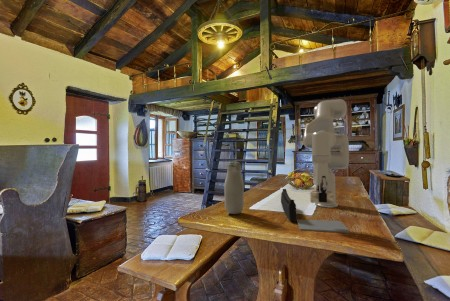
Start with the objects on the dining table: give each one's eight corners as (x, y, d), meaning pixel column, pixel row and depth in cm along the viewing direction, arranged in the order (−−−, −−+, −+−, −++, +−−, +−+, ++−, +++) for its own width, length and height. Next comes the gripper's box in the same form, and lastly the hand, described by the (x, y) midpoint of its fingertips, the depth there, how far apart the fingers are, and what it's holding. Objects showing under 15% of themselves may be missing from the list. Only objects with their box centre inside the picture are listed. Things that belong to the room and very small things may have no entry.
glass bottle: (222, 215, 123) (221, 161, 122) (229, 210, 132) (229, 160, 131) (239, 217, 119) (239, 162, 118) (246, 212, 128) (246, 160, 127)
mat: (296, 220, 113) (296, 219, 113) (340, 222, 109) (341, 221, 109) (299, 230, 100) (299, 228, 100) (350, 232, 96) (350, 231, 96)
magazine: (297, 205, 106) (287, 177, 135) (290, 205, 107) (281, 177, 135) (295, 237, 112) (286, 203, 140) (288, 237, 112) (280, 203, 140)
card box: (331, 201, 105) (331, 190, 105) (333, 203, 100) (333, 192, 100) (310, 200, 108) (310, 189, 108) (310, 202, 103) (310, 191, 103)
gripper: (308, 158, 113) (309, 196, 113) (316, 160, 96) (316, 204, 96) (325, 158, 112) (325, 196, 112) (335, 160, 95) (335, 205, 95)
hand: (321, 200), depth 104 cm, fingers closed on card box, 5 cm apart
